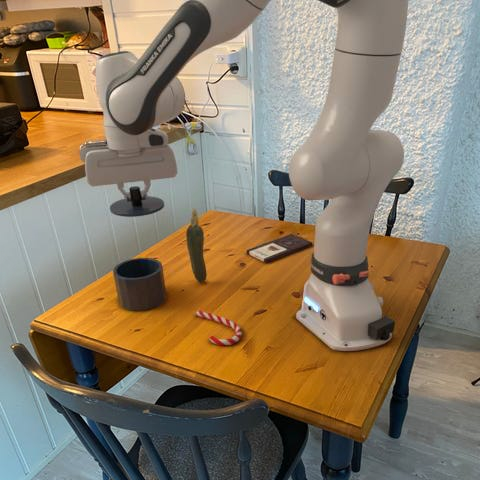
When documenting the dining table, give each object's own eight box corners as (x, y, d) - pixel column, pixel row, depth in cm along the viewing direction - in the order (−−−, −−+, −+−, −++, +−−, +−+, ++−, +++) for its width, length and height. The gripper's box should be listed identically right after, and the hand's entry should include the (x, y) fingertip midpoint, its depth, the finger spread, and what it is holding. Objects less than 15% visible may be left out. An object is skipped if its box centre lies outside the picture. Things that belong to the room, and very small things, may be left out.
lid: (168, 215, 107) (165, 192, 104) (112, 222, 104) (107, 199, 101) (160, 198, 117) (158, 177, 114) (109, 204, 114) (105, 183, 111)
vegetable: (203, 288, 120) (197, 213, 109) (188, 286, 121) (180, 212, 110) (210, 281, 123) (204, 207, 113) (195, 279, 125) (188, 206, 114)
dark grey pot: (169, 306, 113) (165, 274, 109) (120, 314, 111) (114, 282, 106) (162, 284, 123) (158, 254, 118) (117, 291, 120) (111, 261, 116)
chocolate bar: (312, 242, 140) (266, 260, 130) (312, 245, 140) (266, 263, 131) (291, 233, 146) (246, 250, 136) (291, 236, 146) (246, 253, 137)
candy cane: (208, 305, 110) (250, 331, 101) (208, 309, 111) (250, 336, 101) (180, 317, 106) (222, 345, 96) (181, 322, 107) (222, 350, 97)
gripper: (77, 145, 97) (90, 210, 104) (175, 136, 101) (181, 199, 109) (77, 139, 102) (90, 201, 109) (170, 131, 106) (176, 191, 114)
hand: (136, 200), depth 109 cm, fingers closed on lid, 2 cm apart
